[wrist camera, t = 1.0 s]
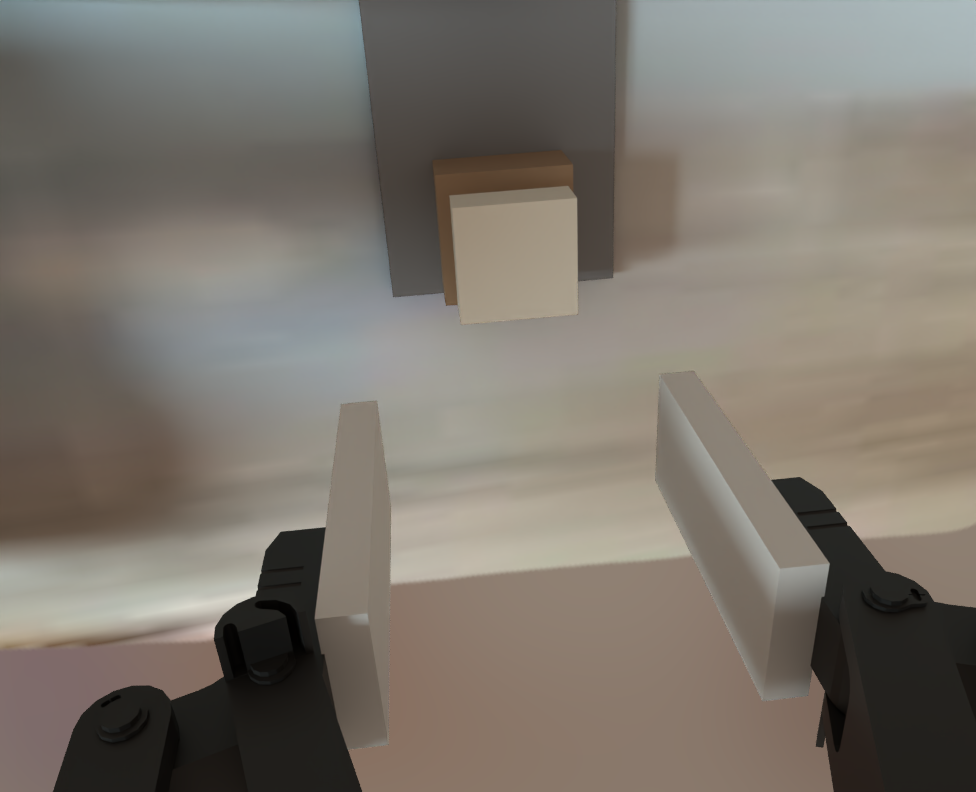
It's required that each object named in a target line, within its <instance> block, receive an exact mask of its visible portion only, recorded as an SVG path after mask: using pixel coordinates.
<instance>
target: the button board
mask: <svg viewBox="0 0 976 792" xmlns="http://www.w3.org/2000/svg"><path fill="white" fill-rule="evenodd" d="M359 5H360V14H361V23H362V31H363V40H364V49H365V57H366V66H367V75H368V83H369V92H370V101H371V109H372V118H373V127H374V135H375V144H376V153H377V161H378V170H379V179H380V187H381V196H382V205H383V213H384V222H385V231H386V239H387V248H388V257H389V265H390V274H391V283H392V291H393V297H401V296H413V295H424V294H436V293H444V295H445V303H446V306H448V305H458V300H457V287H456V274H455V262H454V249H453V236H452V223H451V210H450V198H449V195H461V194H473V193H486V192H498V191H510V190H523V189H535V188H548V187H560V186H569V188H570V189H571V190H572V192H573V193H574V194H575V196H576V197H577V245H578V281H585V280H597V279H608V278H613V223H614V140H615V57H616V0H359Z"/></svg>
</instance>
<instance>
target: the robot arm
mask: <svg viewBox="0 0 976 792" xmlns="http://www.w3.org/2000/svg"><path fill="white" fill-rule="evenodd" d="M655 481H656V483H657V485H658V487H659V489H660V491H661V493H662V495H663V497H664V499H665V501H666V503H667V505H668V508H669V510H670V512H671V514H672V516H673V518H674V520H675V522H676V524H677V526H678V528H679V530H680V532H681V534H682V536H683V538H684V540H685V542H686V545H687V547H688V549H689V551H690V553H691V555H692V557H693V559H694V561H695V563H696V565H697V567H698V569H699V571H700V573H701V575H702V577H703V579H704V581H705V584H706V586H707V588H708V590H709V592H710V594H711V596H712V598H713V600H714V602H715V604H716V606H717V608H718V610H719V612H720V614H721V616H722V618H723V620H724V623H725V625H726V627H727V629H728V631H729V633H730V635H731V637H732V639H733V641H734V643H735V645H736V647H737V649H738V651H739V653H740V656H741V657H742V659H743V662H744V663H745V666H746V668H747V670H748V672H749V674H750V676H751V678H752V680H753V682H754V684H755V686H756V688H757V690H758V693H759V695H760V697H761V699H762V701H769V700H777V699H786V698H795V697H803V696H808V693H809V687H810V680H811V674H812V669H813V671H814V672H815V674H816V676H817V678H818V680H819V681H820V683H821V685H822V686H823V688H824V690H825V694H824V699H823V705H822V711H821V717H820V722H819V728H818V734H817V741H816V747H823V745H824V740H825V738H826V744H827V750H828V757H829V764H830V770H831V776H832V783H833V789H834V792H976V608H973V607H965V606H956V605H948V604H943V603H938V602H934V601H933V599H932V598H931V596H930V595H929V593H928V592H927V590H925V589H924V588H923V587H921V586H920V585H919V584H917V583H916V582H915V581H913V580H911V579H908V578H906V577H904V576H901V575H899V574H896V573H891V572H886V571H885V570H884V569H883V568H882V566H881V565H880V564H879V563H878V561H877V560H876V559H875V558H874V556H873V555H872V554H871V552H870V551H869V550H868V549H867V547H866V546H865V545H864V544H863V542H862V541H861V540H860V538H859V537H858V536H857V535H856V533H855V532H854V531H853V530H852V528H851V527H850V526H847V522H846V521H845V519H844V518H843V517H842V516H841V514H840V513H839V512H836V508H835V507H834V505H833V504H832V503H831V501H830V500H829V499H828V498H827V496H826V495H825V494H824V493H823V491H821V490H820V489H818V488H816V487H815V486H813V485H812V484H810V483H808V482H807V481H805V480H804V479H802V478H800V477H796V478H786V479H777V480H771V479H770V478H769V477H768V475H767V474H766V472H765V471H764V469H763V468H762V467H761V465H760V464H759V462H758V461H757V460H756V458H755V457H754V455H753V454H752V452H751V451H750V450H749V448H748V447H747V445H746V444H745V443H744V441H743V440H742V438H741V437H740V435H739V434H738V433H737V431H736V430H735V428H734V427H733V425H732V424H731V423H730V421H729V420H728V418H727V417H726V416H725V414H724V413H723V411H722V410H721V408H720V407H719V406H718V404H717V403H716V401H715V400H714V399H713V397H712V396H711V394H710V393H709V391H708V390H707V389H706V387H705V386H704V384H703V383H702V381H701V380H700V379H699V377H698V376H697V374H696V373H695V372H694V371H688V372H677V373H667V374H660V376H659V400H658V425H657V449H656V473H655ZM390 559H391V503H390V495H389V488H388V480H387V473H386V465H385V458H384V450H383V443H382V435H381V428H380V420H379V413H378V405H377V401H369V402H358V403H348V404H341V407H340V416H339V424H338V432H337V440H336V448H335V456H334V465H333V473H332V481H331V489H330V497H329V505H328V514H327V522H326V527H324V528H314V529H304V530H295V531H285V532H280V534H279V535H278V536H277V537H276V538H275V540H274V541H273V542H272V543H271V545H270V546H269V547H268V548H267V550H266V551H265V556H264V560H263V565H262V570H261V572H262V574H260V579H259V583H258V591H257V592H256V597H252V598H250V599H248V600H245V601H243V602H241V603H238V604H236V605H235V606H234V607H232V608H231V609H230V610H229V611H227V612H226V613H225V614H224V615H223V616H222V617H221V619H220V621H219V622H218V624H217V625H216V627H215V634H214V641H215V645H216V649H217V652H218V656H219V660H220V663H221V667H222V671H223V674H224V677H223V678H221V679H219V680H218V681H216V682H215V683H214V684H212V685H210V686H207V687H205V688H203V689H201V690H199V691H196V692H193V693H190V694H188V695H185V696H182V697H179V698H177V699H174V700H171V701H170V699H169V698H168V697H167V696H166V694H165V693H164V692H163V691H162V690H160V689H157V688H154V687H152V686H130V687H127V688H123V689H120V690H116V691H113V692H111V693H110V694H108V695H106V696H104V697H103V698H101V699H99V700H97V701H96V702H95V703H94V704H92V705H91V706H90V708H88V709H87V710H86V711H85V712H84V713H83V714H82V715H81V717H80V719H79V720H78V722H77V724H76V726H75V728H74V729H73V732H72V735H71V738H70V741H69V744H68V748H67V751H66V754H65V757H64V760H63V763H62V766H61V769H60V772H59V775H58V778H57V781H56V784H55V787H54V790H53V792H362V790H361V787H360V784H359V781H358V778H357V775H356V772H355V769H354V767H353V763H352V761H351V758H350V755H349V752H348V750H350V749H358V748H367V747H375V746H384V745H389V656H390V655H389V653H390V650H389V649H390Z"/></svg>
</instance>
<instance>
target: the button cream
mask: <svg viewBox="0 0 976 792" xmlns="http://www.w3.org/2000/svg"><path fill="white" fill-rule="evenodd" d="M449 198H450V210H451V223H452V236H453V249H454V262H455V274H456V287H457V300H458V310H459V316H460V322H461V325H466V324H477V323H488V322H499V321H510V320H522V319H533V318H544V317H555V316H567V315H578V245H577V197H576V196H575V194H574V193H573V192H572V190H571V189H570V188H569V186H560V187H548V188H535V189H523V190H510V191H498V192H486V193H473V194H461V195H449Z"/></svg>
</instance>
